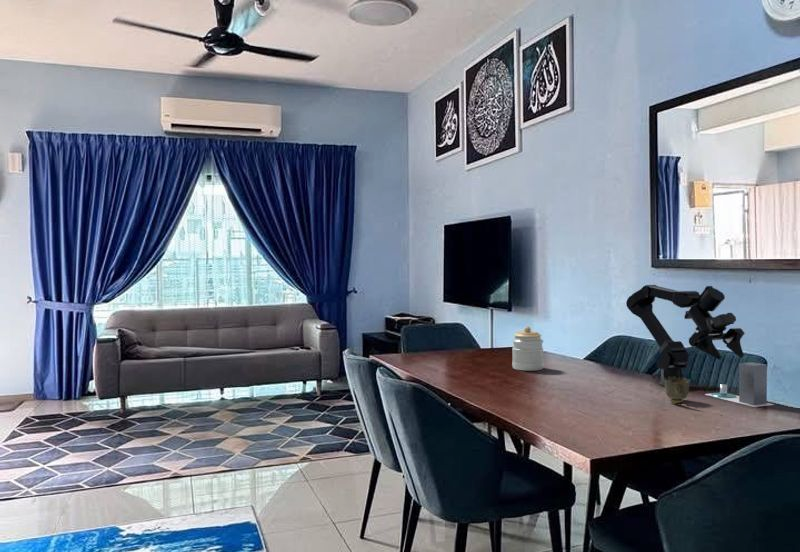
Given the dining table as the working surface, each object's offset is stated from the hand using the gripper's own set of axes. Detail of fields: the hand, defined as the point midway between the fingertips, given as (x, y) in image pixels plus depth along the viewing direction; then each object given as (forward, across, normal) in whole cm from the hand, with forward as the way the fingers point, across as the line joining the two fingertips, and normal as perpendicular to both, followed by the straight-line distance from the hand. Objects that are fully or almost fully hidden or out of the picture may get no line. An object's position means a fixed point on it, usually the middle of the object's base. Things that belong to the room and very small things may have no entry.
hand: (731, 357), depth 197 cm
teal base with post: (+8, 0, +12) cm, 14 cm away
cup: (+8, -19, +12) cm, 24 cm away
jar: (-44, -29, +64) cm, 83 cm away
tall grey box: (+15, 0, +3) cm, 15 cm away
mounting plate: (+12, 0, +8) cm, 14 cm away
